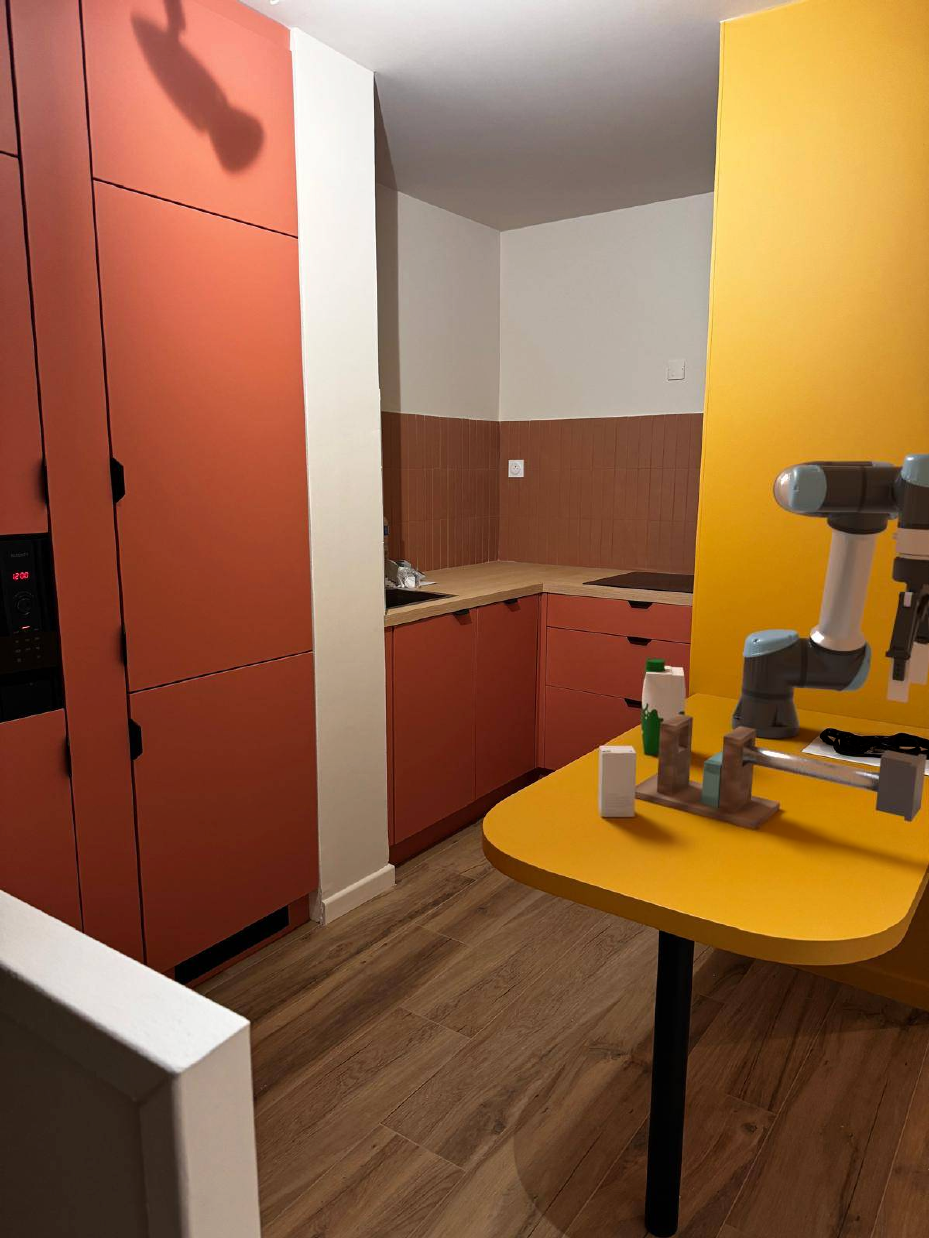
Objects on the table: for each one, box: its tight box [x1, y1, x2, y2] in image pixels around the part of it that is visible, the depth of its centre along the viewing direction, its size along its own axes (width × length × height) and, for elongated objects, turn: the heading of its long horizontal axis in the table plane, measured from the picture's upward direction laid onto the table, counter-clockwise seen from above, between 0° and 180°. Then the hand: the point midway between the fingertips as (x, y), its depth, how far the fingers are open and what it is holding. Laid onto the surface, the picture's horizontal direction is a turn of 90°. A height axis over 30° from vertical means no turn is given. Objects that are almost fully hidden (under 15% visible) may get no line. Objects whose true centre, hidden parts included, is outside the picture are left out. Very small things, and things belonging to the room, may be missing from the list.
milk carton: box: [640, 657, 687, 756], centre depth 187 cm, size 9×9×20 cm
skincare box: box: [597, 745, 637, 818], centre depth 154 cm, size 6×4×12 cm
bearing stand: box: [635, 714, 781, 831], centre depth 159 cm, size 24×12×15 cm, turn 52°
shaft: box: [742, 744, 927, 823], centre depth 146 cm, size 30×7×9 cm, turn 52°
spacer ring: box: [701, 750, 723, 808], centre depth 158 cm, size 3×8×8 cm, turn 142°
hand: (907, 691), depth 136 cm, fingers open, 13 cm apart
